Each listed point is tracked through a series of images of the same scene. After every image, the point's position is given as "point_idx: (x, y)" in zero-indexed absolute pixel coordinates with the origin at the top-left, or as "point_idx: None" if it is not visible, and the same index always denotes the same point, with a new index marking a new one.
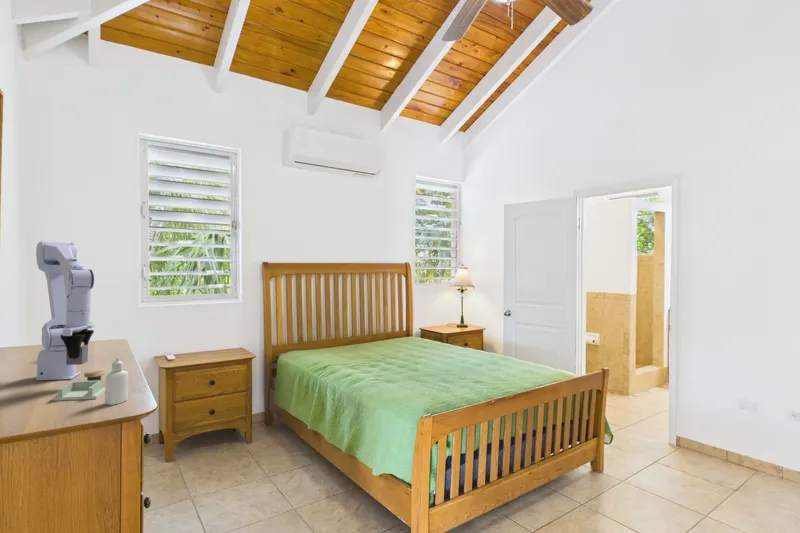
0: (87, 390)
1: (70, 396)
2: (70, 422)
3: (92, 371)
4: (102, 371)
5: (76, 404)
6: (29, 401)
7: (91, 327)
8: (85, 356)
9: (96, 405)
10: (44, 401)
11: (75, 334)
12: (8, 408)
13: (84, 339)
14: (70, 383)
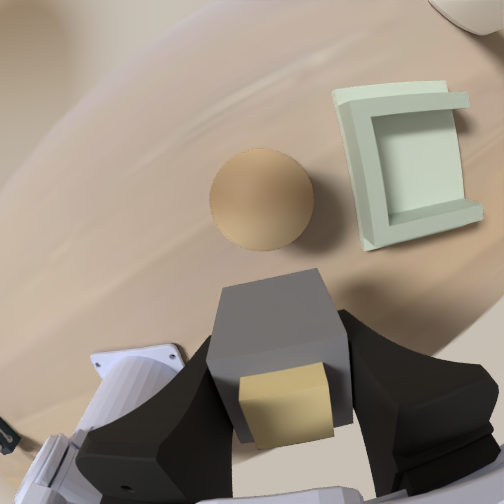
0: (382, 151)
1: (455, 174)
2: None
3: (235, 229)
4: (228, 172)
5: (489, 124)
6: (454, 292)
7: (354, 495)
8: (261, 299)
9: (489, 59)
10: (461, 247)
11: (462, 449)
12: (498, 296)
13: (201, 425)
14: (409, 225)
